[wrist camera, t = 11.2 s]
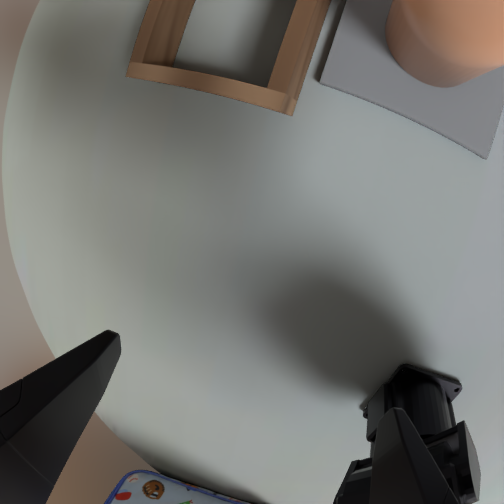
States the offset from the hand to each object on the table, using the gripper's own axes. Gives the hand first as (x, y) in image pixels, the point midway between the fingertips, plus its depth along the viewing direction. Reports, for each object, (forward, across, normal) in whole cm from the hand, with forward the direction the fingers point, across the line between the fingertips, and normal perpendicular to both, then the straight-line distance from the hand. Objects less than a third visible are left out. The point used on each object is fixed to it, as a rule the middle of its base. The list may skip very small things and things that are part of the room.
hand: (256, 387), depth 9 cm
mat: (+14, -5, -14) cm, 20 cm away
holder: (+15, +6, -11) cm, 20 cm away
